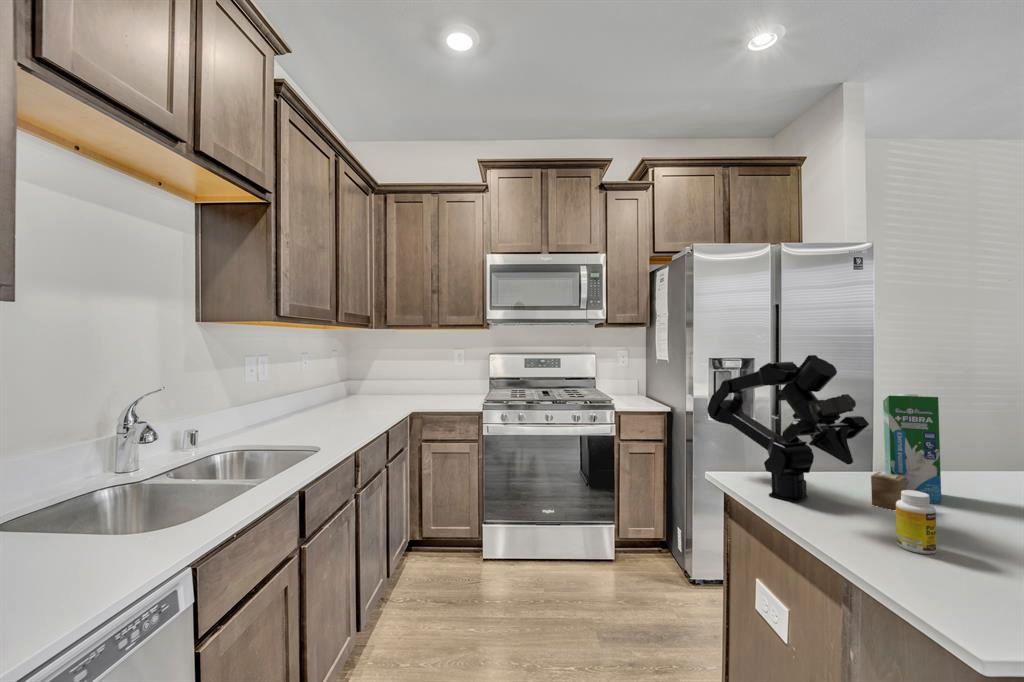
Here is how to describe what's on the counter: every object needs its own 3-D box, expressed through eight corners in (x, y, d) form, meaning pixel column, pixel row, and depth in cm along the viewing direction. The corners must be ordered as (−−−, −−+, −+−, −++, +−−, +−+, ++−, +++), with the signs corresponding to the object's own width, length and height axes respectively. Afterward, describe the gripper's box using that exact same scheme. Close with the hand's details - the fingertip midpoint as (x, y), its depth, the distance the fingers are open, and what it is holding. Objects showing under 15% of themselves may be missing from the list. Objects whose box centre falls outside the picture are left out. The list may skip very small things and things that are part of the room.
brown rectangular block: (871, 505, 106) (871, 474, 106) (879, 501, 109) (878, 471, 109) (899, 512, 102) (898, 479, 102) (906, 507, 104) (905, 475, 104)
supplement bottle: (931, 558, 80) (929, 500, 80) (892, 546, 85) (890, 492, 85) (941, 549, 83) (939, 494, 83) (902, 539, 88) (901, 486, 88)
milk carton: (932, 492, 113) (929, 392, 113) (941, 504, 105) (938, 396, 106) (885, 487, 118) (882, 391, 118) (891, 497, 110) (888, 394, 110)
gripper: (791, 384, 99) (839, 445, 89) (859, 380, 104) (913, 438, 93) (764, 414, 107) (805, 474, 96) (829, 410, 111) (875, 467, 101)
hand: (850, 463), depth 96 cm, fingers closed
